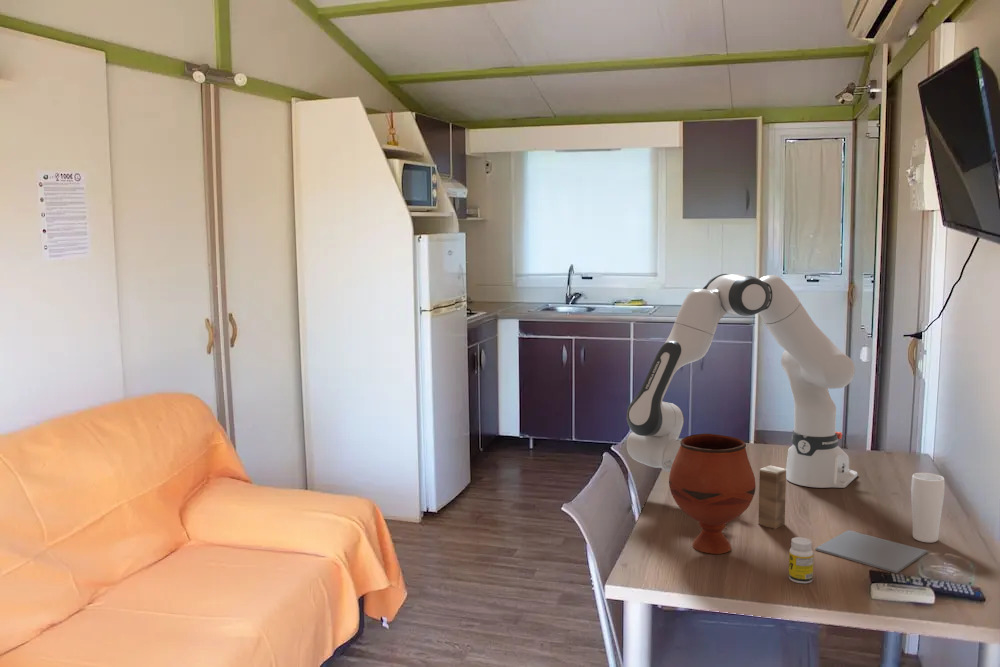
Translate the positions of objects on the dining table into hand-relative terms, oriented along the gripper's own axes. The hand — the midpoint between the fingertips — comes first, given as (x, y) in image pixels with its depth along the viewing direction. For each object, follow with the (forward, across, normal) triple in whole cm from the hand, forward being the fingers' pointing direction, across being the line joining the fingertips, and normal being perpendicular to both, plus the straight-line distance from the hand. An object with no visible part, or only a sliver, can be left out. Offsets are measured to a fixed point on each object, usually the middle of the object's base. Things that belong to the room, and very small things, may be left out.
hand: (728, 471), depth 214 cm
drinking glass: (+44, +14, +7) cm, 46 cm away
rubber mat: (+37, -1, +8) cm, 38 cm away
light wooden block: (+13, +1, +10) cm, 16 cm away
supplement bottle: (+32, -26, +11) cm, 42 cm away
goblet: (+9, -22, +12) cm, 27 cm away
